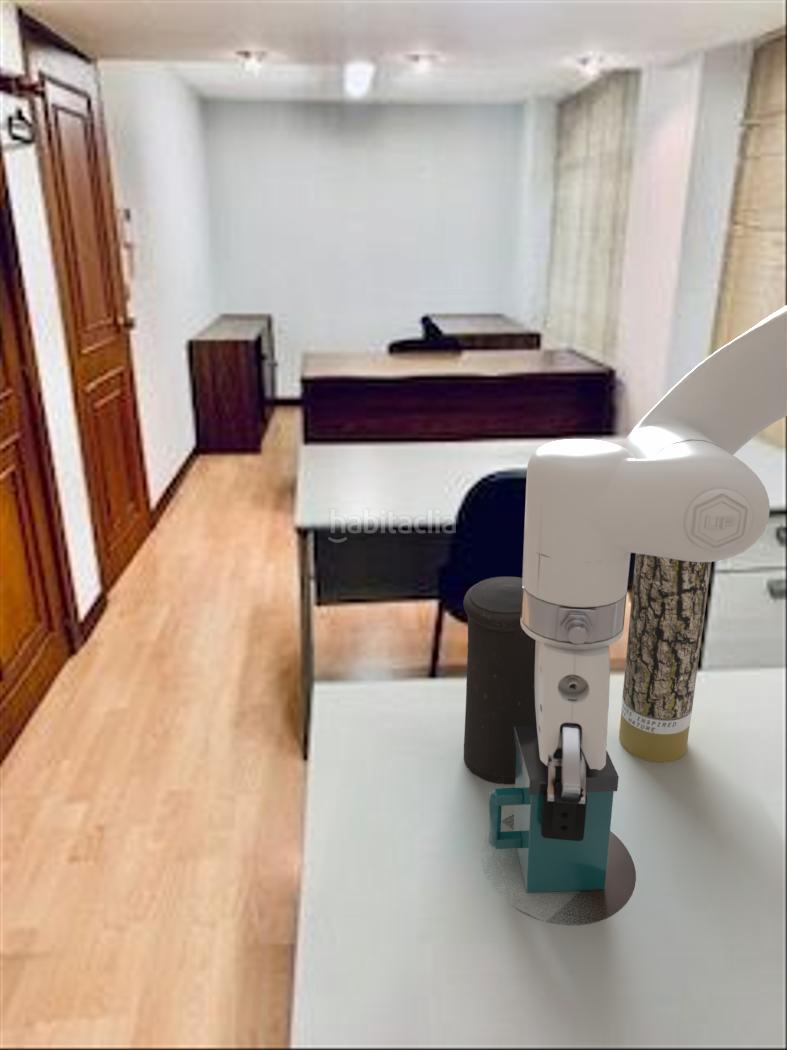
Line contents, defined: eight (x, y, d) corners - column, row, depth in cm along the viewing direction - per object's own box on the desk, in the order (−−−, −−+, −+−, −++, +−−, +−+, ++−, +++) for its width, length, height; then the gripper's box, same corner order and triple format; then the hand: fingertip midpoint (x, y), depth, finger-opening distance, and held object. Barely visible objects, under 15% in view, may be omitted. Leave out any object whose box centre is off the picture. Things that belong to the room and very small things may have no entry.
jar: (586, 830, 68) (594, 723, 64) (608, 891, 62) (618, 776, 58) (482, 834, 68) (484, 727, 64) (493, 896, 61) (496, 781, 57)
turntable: (618, 817, 71) (619, 810, 70) (652, 937, 58) (653, 929, 58) (478, 813, 72) (478, 806, 71) (482, 930, 59) (483, 922, 59)
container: (565, 778, 76) (577, 598, 69) (485, 803, 73) (489, 617, 66) (521, 730, 83) (527, 563, 76) (447, 751, 80) (446, 579, 73)
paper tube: (691, 772, 76) (723, 541, 67) (621, 765, 77) (643, 537, 69) (680, 731, 82) (707, 515, 74) (615, 726, 84) (634, 512, 75)
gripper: (642, 673, 48) (619, 889, 54) (610, 563, 64) (595, 739, 70) (521, 666, 49) (512, 878, 55) (520, 560, 65) (513, 733, 71)
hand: (559, 799), depth 62 cm, fingers closed on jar, 7 cm apart
